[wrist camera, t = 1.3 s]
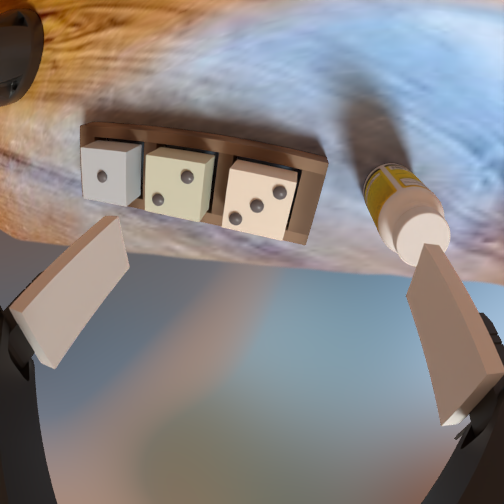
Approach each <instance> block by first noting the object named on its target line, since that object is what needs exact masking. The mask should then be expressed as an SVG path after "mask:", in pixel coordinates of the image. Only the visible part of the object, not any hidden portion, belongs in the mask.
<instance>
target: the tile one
mask: <svg viewBox="0 0 504 504" xmlns="http://www.w3.org/2000/svg"><path fill="white" fill-rule="evenodd" d="M141 152H142V144H133V143H124V142H114V141H103V140H97V141H95V142H92V143H90V144H88V145H85V146H83V147H81V169H82V186H83V198H85V199H90V200H95V201H100V202H105V203H110V204H115V205H120V206H125V207H127V206H128V205H129V204H130V203H131V202H133V201H134V200H135V199H136V198H138V197H139V196H140V195H141Z"/></svg>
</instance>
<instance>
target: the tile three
mask: <svg viewBox="0 0 504 504" xmlns="http://www.w3.org/2000/svg"><path fill="white" fill-rule="evenodd" d="M297 173H298V172H295V171H291V170H286V169H282V168H277V167H273V166H268V165H263V164H258V163H254V162H249V161H243V160H238V159H237V160H236V162H235V163H234V164H233V165H232V166H231V168H230V170H229V177H228V184H227V191H226V198H225V205H224V213H223V220H222V227H223V228H228V229H232V230H237V231H241V232H246V233H250V234H255V235H259V236H263V237H268V238H272V239H277V240H281V241H283V237H284V233H285V229H286V225H287V221H288V217H289V213H290V208H291V204H292V200H293V196H294V192H295V188H296V184H297Z"/></svg>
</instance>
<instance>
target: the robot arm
mask: <svg viewBox="0 0 504 504" xmlns="http://www.w3.org/2000/svg"><path fill="white" fill-rule="evenodd" d="M42 50H43V28H42V24H41V21H40V18H39V17H38V15H37V14H36V13H35V12H34V11H32V10H30V9H12V10H9V11H6V12H4V13H1V14H0V107H1V106H5V105H8V104H12V103H14V102H16V101H18V100H19V99H21V98H22V97H23V96H24V94H25V93H26V92H27V91H28V89H29V88H30V86H31V84H32V82H33V80H34V78H35V76H36V73H37V71H38V68H39V64H40V61H41V56H42ZM128 269H129V262H128V258H127V254H126V249H125V245H124V240H123V236H122V231H121V226H120V221H119V216H105V217H103V218H102V219H101V220H100V221H99V222H97V223H96V224H95V225H94V226H93V227H91V228H90V229H89V230H88V231H87V232H86V233H85V234H83V235H82V236H81V237H80V238H79V239H78V240H77V241H76V242H74V243H73V244H72V245H71V246H70V247H69V248H68V249H67V250H66V251H65V252H63V254H61V255H60V256H59V257H58V258H57V259H56V260H55V261H54V262H53V263H52V264H51V265H50V266H49V267H48V268H47V269H46V270H44V271H43V272H41V273H40V274H38V275H37V276H36V278H34V280H32V283H30V284H29V285H28V286H27V287H26V289H24V290H23V291H22V292H21V293H20V294H19V295H18V296H17V297H16V298H15V299H14V300H13V301H12V302H11V304H10V305H9V306H8V307H7V308H6V309H5V310H4V311H3V310H2V308H1V306H0V504H57V501H56V498H55V494H54V491H53V488H52V484H51V479H50V475H49V471H48V467H47V462H46V458H45V453H44V447H43V442H42V436H41V430H40V423H39V415H38V408H37V397H36V385H35V367H34V362H33V360H32V358H31V357H32V356H33V354H34V353H35V354H36V355H37V357H38V359H39V360H40V362H41V363H42V364H44V365H47V366H49V367H51V368H54V369H55V368H56V367H57V365H58V364H59V362H60V361H61V359H62V358H63V356H64V355H65V354H66V352H67V350H68V349H69V348H70V346H71V345H72V343H73V342H74V340H75V339H76V338H77V336H78V335H79V333H80V332H81V331H82V329H83V328H84V326H85V325H86V324H87V322H88V321H89V320H90V318H91V317H92V315H93V314H94V313H95V311H96V310H97V309H98V307H99V306H100V305H101V303H102V302H103V301H104V299H105V298H106V297H107V295H108V294H109V293H110V292H111V290H112V289H113V288H114V286H115V285H116V284H117V283H118V281H119V280H120V279H121V278H122V276H123V275H124V274H125V272H126V271H127V270H128ZM406 297H407V300H408V303H409V306H410V309H411V312H412V315H413V318H414V321H415V324H416V327H417V330H418V334H419V337H420V341H421V344H422V347H423V351H424V354H425V358H426V362H427V365H428V369H429V373H430V377H431V381H432V385H433V389H434V394H435V398H436V402H437V407H438V412H439V417H440V423H441V426H446V425H452V424H459V423H461V422H462V421H463V419H465V418H466V417H467V416H468V415H470V420H471V422H470V424H468V425H467V426H466V427H465V428H464V429H463V430H462V431H461V432H460V433H459V434H458V435H457V436H456V437H455V438H454V439H456V440H457V439H458V438H459V437H460V436H462V437H461V439H460V441H459V443H458V444H457V446H456V449H455V450H454V452H453V454H452V456H451V457H450V459H449V461H448V463H447V464H446V466H445V468H444V470H443V471H442V473H441V474H440V476H439V477H438V479H437V481H436V482H435V484H434V485H433V487H432V488H431V490H430V491H429V493H428V495H427V496H426V497H425V499H424V500H423V502H422V503H421V504H504V345H503V344H502V341H501V339H500V337H499V336H498V335H497V334H498V333H497V331H496V329H495V327H494V325H493V323H492V322H491V321H490V319H489V318H488V317H487V316H486V315H485V314H484V313H479V312H478V310H477V308H476V307H475V305H474V303H473V301H472V299H471V297H470V295H469V294H468V292H467V290H466V288H465V287H464V285H463V283H462V281H461V280H460V278H459V276H458V275H457V273H456V271H455V270H454V268H453V266H452V265H451V263H450V261H449V260H448V258H447V257H446V255H445V253H444V252H443V250H442V249H441V247H440V246H439V245H434V244H426V243H424V245H423V248H422V251H421V254H420V257H419V260H418V264H417V267H416V269H415V272H414V275H413V278H412V281H411V284H410V287H409V289H408V292H407V295H406Z"/></svg>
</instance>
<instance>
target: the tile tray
mask: <svg viewBox="0 0 504 504" xmlns="http://www.w3.org/2000/svg"><path fill="white" fill-rule="evenodd" d="M107 138H114V139H124V140H134V141H143V142H144V163H143V190H142V189H141V195H140V196H139V197H138V198H136V199H135V200H134V201H133V202H131V203H130V204H129V205H128V206H129V207H134V208H139V209H143V210H145V170H146V155H147V154H148V153H150V152H152V151H154V150H156V149H158V148H159V147H165V148H166V144H167V145H174V146H181V147H188V148H195V149H201V150H207V151H213V152H219V157H218V165H217V172H216V180H215V188H214V197H213V203H209V209H208V210H207V212H206V213H205V215H204V216H203V218H202V219H201V220H200V222H205V223H209V224H214V225H218V226H222V220H223V213H224V205H225V198H226V191H227V184H228V177H229V170H230V168H231V166H232V165H233V164H234V163H235V162H236V160H237V157H238V156H241V157H246V158H251V159H256V160H261V161H266V162H270V163H275V164H280V165H284V166H289V167H293V168H297V169H301V172H300V177H299V181H298V185H297V189H296V193H295V197H294V201H293V205H292V209H291V213H290V217H289V220H288V221H287V225H286V229H285V233H284V237H283V240H285V241H289V242H293V243H298V244H302V245H306V242H307V239H308V235H309V232H310V229H311V225H312V222H313V218H314V215H315V211H316V208H317V204H318V201H319V197H320V193H321V190H322V186H323V183H324V179H325V175H326V171H327V168H328V164H329V163H328V160H327V157H324V156H320V155H316V154H312V153H308V152H304V151H299V150H295V149H291V148H286V147H282V146H277V145H272V144H267V143H262V142H257V141H252V140H247V139H241V138H236V137H230V136H224V135H218V134H212V133H205V132H198V131H191V130H183V129H175V128H167V127H158V126H147V125H136V124H124V123H108V122H90V123H87V124H84V125H81V126H80V159H81V147H83V146H85V145H88V144H90V143H92V142H95V141H97V140H103V141H106V139H107ZM81 179H82V169H81ZM82 193H83V186H82Z"/></svg>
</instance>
